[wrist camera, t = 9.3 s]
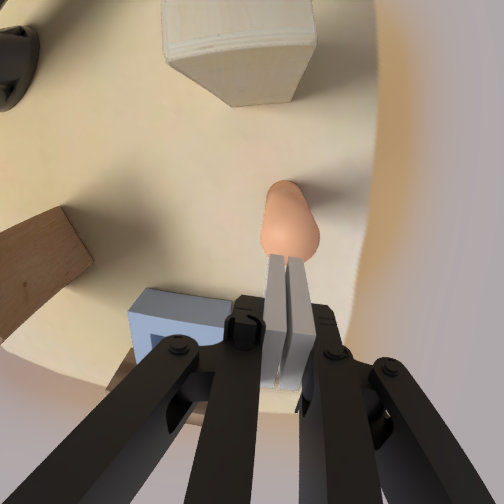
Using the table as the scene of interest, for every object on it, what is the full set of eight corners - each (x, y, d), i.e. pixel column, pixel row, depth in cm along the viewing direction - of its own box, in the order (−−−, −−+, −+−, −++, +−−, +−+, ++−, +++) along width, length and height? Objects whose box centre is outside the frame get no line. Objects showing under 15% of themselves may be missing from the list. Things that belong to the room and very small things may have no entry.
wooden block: (96, 261, 38) (3, 341, 19) (62, 287, 40) (-16, 360, 22) (60, 204, 35) (-47, 256, 16) (30, 237, 38) (-58, 292, 19)
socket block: (145, 288, 38) (127, 311, 33) (231, 301, 38) (224, 328, 32) (153, 353, 43) (139, 378, 37) (227, 366, 42) (221, 395, 37)
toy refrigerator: (298, 104, 29) (335, 44, 9) (230, 109, 29) (157, 63, 10) (291, 39, 26) (307, -77, 6) (225, 45, 27) (157, -58, 7)
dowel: (268, 178, 32) (263, 205, 19) (304, 183, 32) (324, 213, 19) (265, 213, 33) (257, 262, 20) (299, 217, 33) (314, 268, 20)
